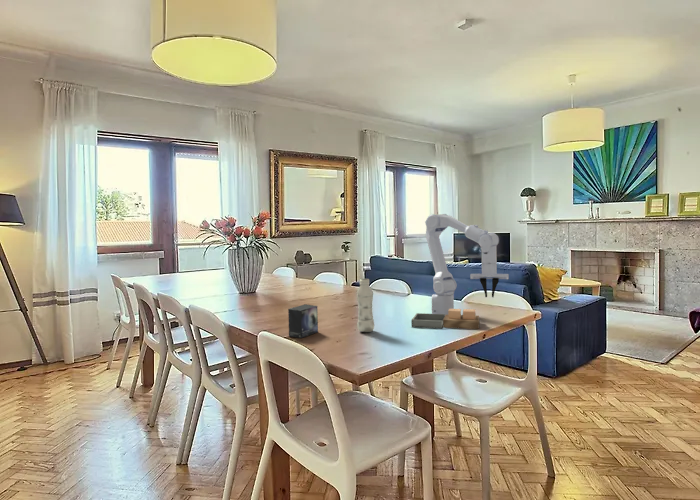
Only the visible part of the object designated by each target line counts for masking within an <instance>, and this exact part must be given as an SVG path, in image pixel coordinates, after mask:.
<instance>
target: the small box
mask: <svg viewBox="0 0 700 500" xmlns="http://www.w3.org/2000/svg"><path fill="white" fill-rule="evenodd" d="M287 312H288V337H290V338H297V339H302V338H306V337H308V336H311V335H314V334H316V333H319V327H318V326H319V324H318V323H319V320H318V317H319V314H318V305H314V304H306V303H305V304H301V305H297V306H294V307H290V308H288V311H287Z"/></svg>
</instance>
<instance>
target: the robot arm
mask: <svg viewBox="0 0 700 500" xmlns="http://www.w3.org/2000/svg"><path fill="white" fill-rule="evenodd" d="M424 223H425V229H426V230H425V239H426V243H427V246H428V251H429V254H430V257H431V262H432V264H433V265H432V266H433V269H434V272H435V275H434V276H433V278H432V280H433V282H432V283H433V286H432V288H433V291H434V293H433V294H432V295H431V314H445V315H448V311H449V309H455V306H454V305H455V304H454V303H455V301H454V299H455V298H454V297H455V291H456V290H457V287H458V285H457V282H456V280H455V278H454V277H453V274H452V273H451V272H450V271H449V270H448V266H447V261H446V258H445V255H444V251H443V247H442V242H441V239H440V237H441V234H442V233H443V232H444V231H445V230H447V228H448V227H450V228H453V230H454V229H455V230H456V231H459V232H461V233H464V236H465V237H466V238H467V239H469V240H470V241H473V242H474V243H477V244H478V245H479V246H480V250H481V273H470V276H469V278H470V280H474V279H475V280H479V282H480V284H481V286H482V288H483V292H484V296H485V297H484V298H488V289H487V288H488V287H487V280H491V282H492V283H491V286H492V287H491V298H495V297H494V296H495V293H496V292H495V291H496V288H497V286H498V283H499V281H500V280H509V273H498V271H497V270H498V269H497V268H498V267H497V265H498V264H497V263H498V262H497V257H498V256H497V251H498V250H497V246H498V244H500V238H499V235H498V234H496V233H495V232H489V231H488V229H482V228H480V227H479V225H478V224H470V225H468V224H466V223H464V222H462V221H461V220H458V219H457V218H455V217H453V216H452V215H450V214H447V213H442V214H439V213H437V214H435V213H431V214H429V215H428V216H427V218H426V220H425V221H424Z"/></svg>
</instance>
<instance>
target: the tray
mask: <svg viewBox="0 0 700 500" xmlns="http://www.w3.org/2000/svg"><path fill="white" fill-rule="evenodd" d="M444 317H445V314H432V313H425V312H424V313H420V312H416V313H415V315H414V316H413V318H411V328H421V329H423V328H424V329H442V328H443V319H444Z"/></svg>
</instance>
